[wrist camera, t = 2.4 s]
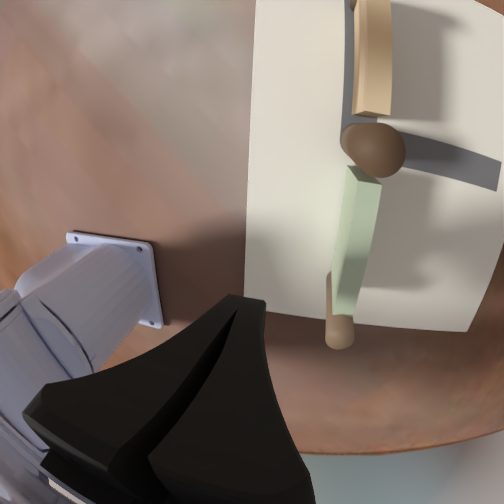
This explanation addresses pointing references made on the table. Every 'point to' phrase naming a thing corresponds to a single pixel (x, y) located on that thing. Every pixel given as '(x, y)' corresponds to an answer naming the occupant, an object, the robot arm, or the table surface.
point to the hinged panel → (350, 255)
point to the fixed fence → (373, 92)
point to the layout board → (393, 187)
